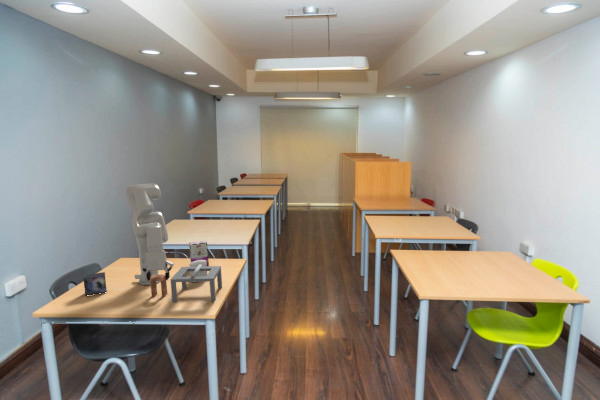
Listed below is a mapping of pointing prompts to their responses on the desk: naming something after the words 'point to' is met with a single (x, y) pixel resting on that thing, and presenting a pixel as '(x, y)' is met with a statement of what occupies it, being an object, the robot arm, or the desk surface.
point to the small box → (95, 283)
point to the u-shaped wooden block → (154, 286)
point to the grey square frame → (197, 279)
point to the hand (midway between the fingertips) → (158, 279)
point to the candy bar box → (199, 251)
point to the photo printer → (195, 264)
